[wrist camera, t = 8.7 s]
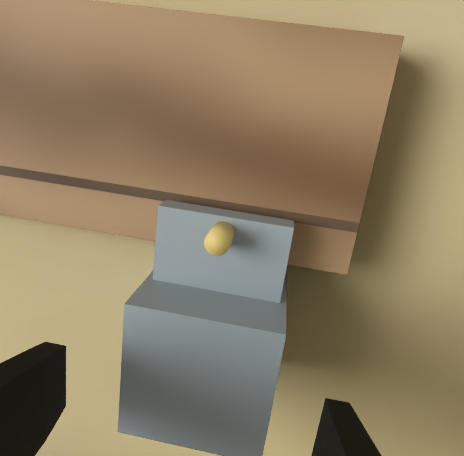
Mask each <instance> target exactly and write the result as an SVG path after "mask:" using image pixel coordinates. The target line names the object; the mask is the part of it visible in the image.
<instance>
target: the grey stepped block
mask: <svg viewBox="0 0 464 456" xmlns="http://www.w3.org/2000/svg"><path fill="white" fill-rule="evenodd" d="M293 231H294V221H293V220H287V219H281V218H275V217H269V216H263V215H256V214H250V213H244V212H238V211H232V210H226V209H219V208H213V207H207V206H201V205H195V204H189V203H183V202H176V201H170V200H166V201H164V202H163V203H161V204H160V205H158V215H157V228H156V242H155V255H154V269H153V272H152V273H151V274H150V275H149V276H148V277H147V279H146V280H145V281H144V282H143V283H142V284H141V285H140V287H139V288H138V289H137V290H136V291H135V292H134V294H133V295H132V296H131V297H130V298H129V299H128V300H127V302H126V303H125V304H124V323H123V342H122V362H121V381H120V400H119V419H118V432H120V433H124V434H129V435H133V436H138V437H142V438H147V439H151V440H155V441H160V442H164V443H169V444H173V445H178V446H182V447H187V448H191V449H195V450H200V451H204V452H209V453H213V454H218V455H222V456H262V455H263V450H264V445H265V440H266V435H267V430H268V425H269V419H270V414H271V409H272V404H273V399H274V394H275V389H276V384H277V379H278V374H279V369H280V364H281V359H282V354H283V349H284V344H285V339H286V311H287V263H288V258H289V252H290V247H291V241H292V236H293Z"/></svg>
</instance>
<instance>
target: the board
mask: <svg viewBox="0 0 464 456" xmlns="http://www.w3.org/2000/svg"><path fill="white" fill-rule="evenodd" d="M403 39H404V36H400V35H391V34H382V33H373V32H364V31H355V30H347V29H338V28H329V27H320V26H311V25H302V24H293V23H285V22H276V21H267V20H258V19H249V18H240V17H231V16H223V15H214V14H205V13H196V12H187V11H178V10H169V9H161V8H152V7H143V6H134V5H125V4H116V3H107V2H99V1H90V0H0V215H4V216H10V217H16V218H21V219H27V220H33V221H39V222H44V223H50V224H56V225H62V226H68V227H73V228H79V229H85V230H91V231H96V232H102V233H108V234H114V235H119V236H125V237H131V238H137V239H143V240H148V241H154V242H156V228H157V215H158V205H160V204H161V203H163V202H164V201H166V200H170V201H176V202H183V203H189V204H195V205H201V206H207V207H213V208H219V209H226V210H232V211H238V212H244V213H250V214H256V215H263V216H269V217H275V218H281V219H287V220H293V221H294V231H293V236H292V241H291V247H290V252H289V258H288V263H287V265H293V266H298V267H304V268H310V269H316V270H321V271H327V272H333V273H339V274H344V275H347V273H348V269H349V265H350V261H351V257H352V252H353V248H354V244H355V240H356V236H357V233H358V229H359V224H360V219H361V215H362V211H363V206H364V202H365V198H366V194H367V190H368V186H369V181H370V177H371V173H372V169H373V165H374V160H375V156H376V152H377V148H378V144H379V140H380V135H381V131H382V127H383V123H384V119H385V114H386V110H387V106H388V102H389V98H390V94H391V89H392V85H393V81H394V77H395V73H396V68H397V64H398V60H399V56H400V52H401V48H402V43H403Z"/></svg>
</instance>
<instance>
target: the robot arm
mask: <svg viewBox="0 0 464 456" xmlns="http://www.w3.org/2000/svg"><path fill="white" fill-rule="evenodd" d="M65 406H66V346H64V345H59V344H54V343H49V342H44V343H42V344H39V345H37V346H35V347H33V348H31V349H29V350H27V351H24V352H22V353H20V354H18V355H16V356H14V357H12V358H10V359H8V360H6V361H4V362H2V363H0V456H35V455H36V453H37V452H38V451H39V449H40V448H41V446H42V445H43V444H44V442H45V441H46V439H47V437H48V436H49V434H50V432H51V431H52V429H53V427H54V426H55V424H56V422H57V421H58V419H59V417H60V415H61V413H62V412H63V410H64V408H65ZM312 456H381V454H380V453H379V451H378V449H377V448H376V446H375V444H374V443H373V441H372V440H371V438H370V436H369V435H368V433H367V431H366V430H365V428H364V426H363V425H362V423H361V421H360V420H359V418H358V416H357V414H356V413H355V411H354V409H353V408H352V406H351V405H350V403H347V402H342V401H337V400H333V399H328V398H326V399H325V403H324V407H323V411H322V415H321V419H320V423H319V427H318V431H317V435H316V439H315V444H314V448H313V452H312Z"/></svg>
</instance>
